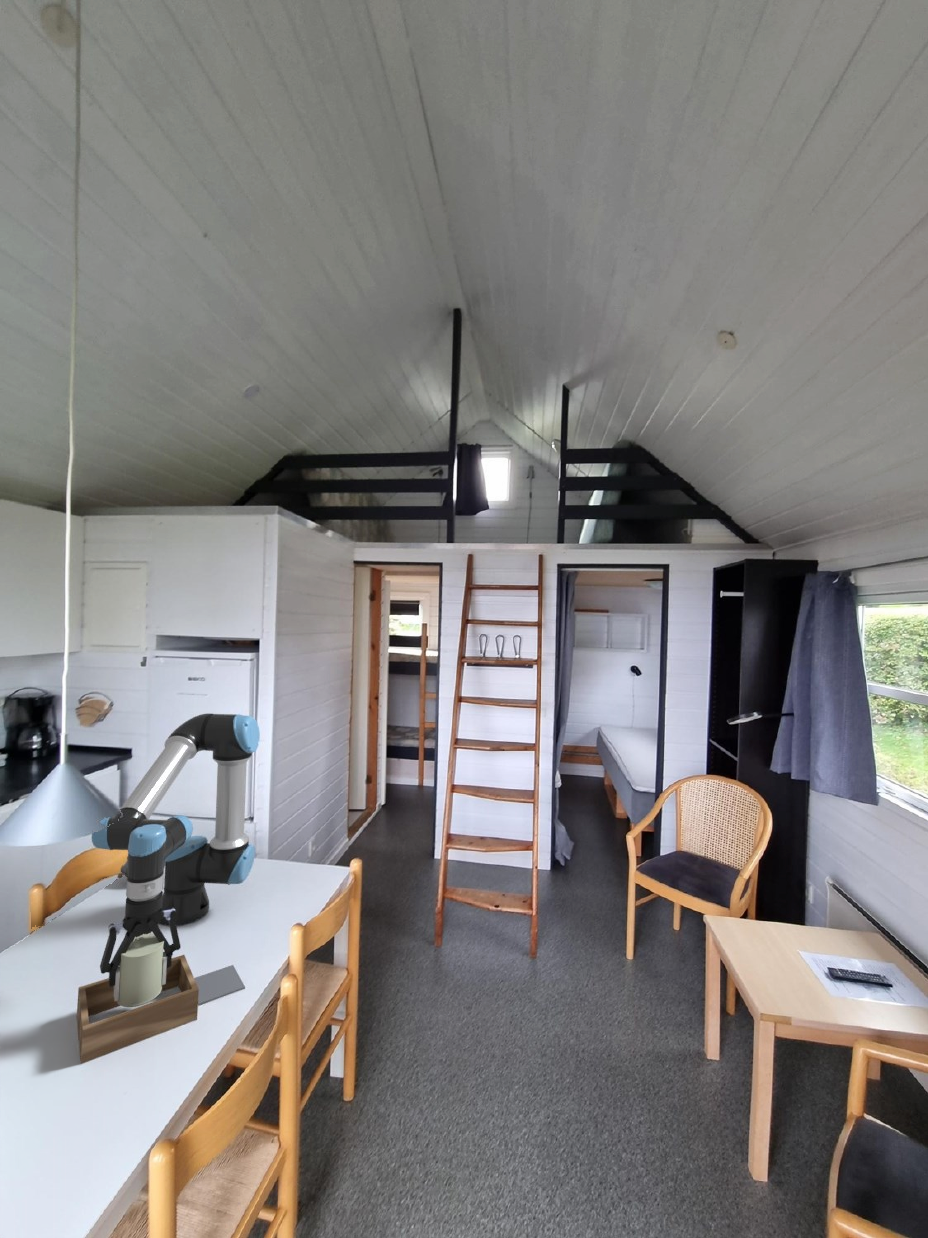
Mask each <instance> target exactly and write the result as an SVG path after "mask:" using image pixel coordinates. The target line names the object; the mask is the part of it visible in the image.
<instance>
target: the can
mask: <svg viewBox="0 0 928 1238" xmlns="http://www.w3.org/2000/svg"><path fill="white" fill-rule="evenodd" d="M163 945H164V941H163V942H160V943H159V941H158V939H157V938H156V936H155V935H154V933H149V934H143V935H141V936H139V937H136V936H135V938H134V940H133V942H132V943H131V944H130V946H129V948H128V950H127V952H126V953H123V954H121V963H120V965H119V970H120V983H119V1000H118V1001H117V1003H118V1004H119V1005H120V1006H119V1007H124V1008H137V1007H141V1006H144V1005H146V1004H149V1002H150V1003H151V1001H153V1000H154V999H156V998H157V997H158V996H159V994H161V993H162V992H161V990H162V962H163V952H164V949H163Z"/></svg>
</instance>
